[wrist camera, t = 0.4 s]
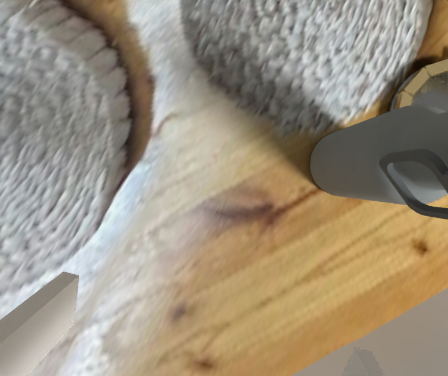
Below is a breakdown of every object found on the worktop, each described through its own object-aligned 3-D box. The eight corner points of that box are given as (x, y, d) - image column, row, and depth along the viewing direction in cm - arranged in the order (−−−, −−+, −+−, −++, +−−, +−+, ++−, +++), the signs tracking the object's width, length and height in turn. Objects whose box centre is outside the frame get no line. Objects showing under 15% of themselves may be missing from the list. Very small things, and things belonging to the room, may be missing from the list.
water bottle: (330, 210, 38) (672, 296, 10) (293, 160, 37) (545, 101, 9) (380, 170, 38) (851, 144, 10) (344, 119, 37) (741, -55, 10)
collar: (402, 41, 38) (415, 32, 35) (507, 68, 39) (525, 61, 37) (372, 178, 38) (382, 178, 36) (477, 201, 39) (493, 202, 37)
